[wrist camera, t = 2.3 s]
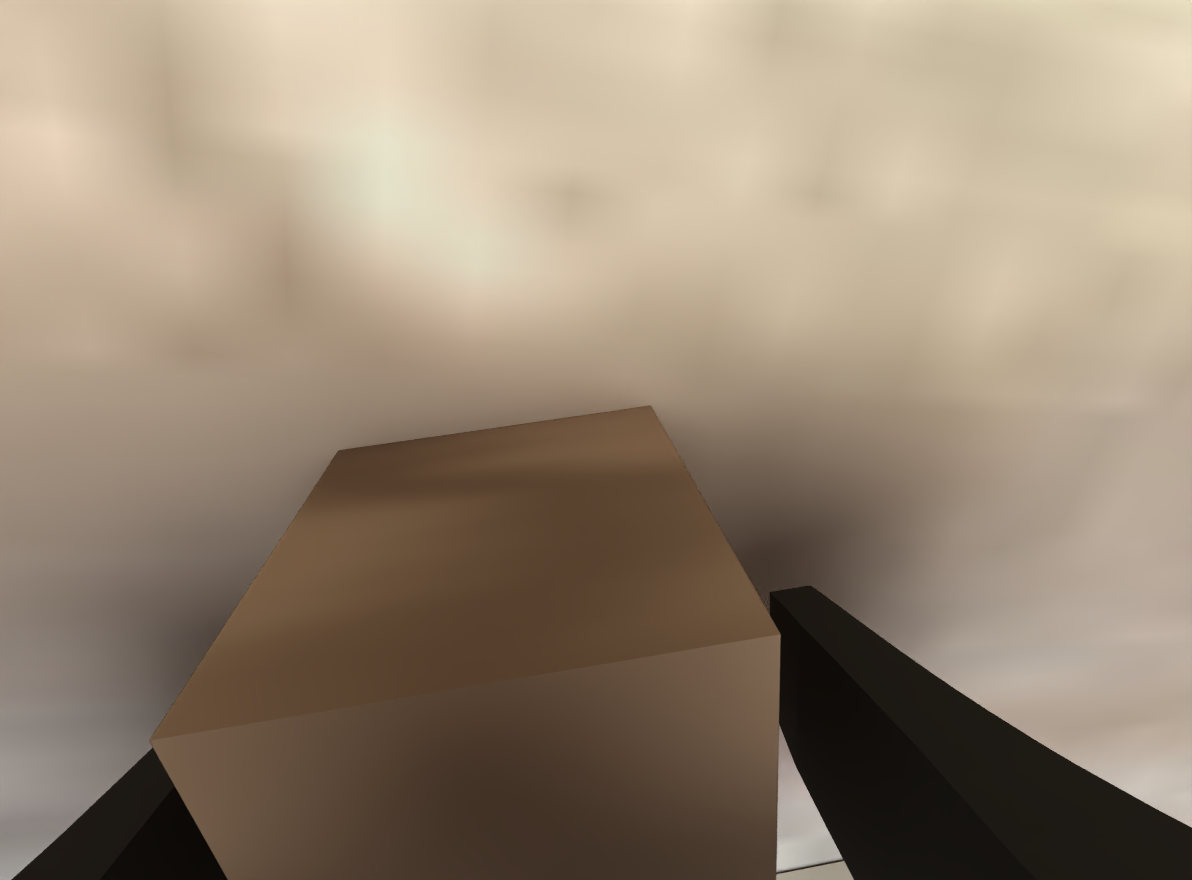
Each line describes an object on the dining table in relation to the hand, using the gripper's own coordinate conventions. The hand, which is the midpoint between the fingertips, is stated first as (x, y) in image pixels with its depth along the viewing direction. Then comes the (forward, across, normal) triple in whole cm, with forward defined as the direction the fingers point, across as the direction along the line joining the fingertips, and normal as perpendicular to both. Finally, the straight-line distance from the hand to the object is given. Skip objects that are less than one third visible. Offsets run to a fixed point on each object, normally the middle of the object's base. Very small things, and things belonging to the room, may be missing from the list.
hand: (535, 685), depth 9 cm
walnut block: (+2, 0, 0) cm, 2 cm away
